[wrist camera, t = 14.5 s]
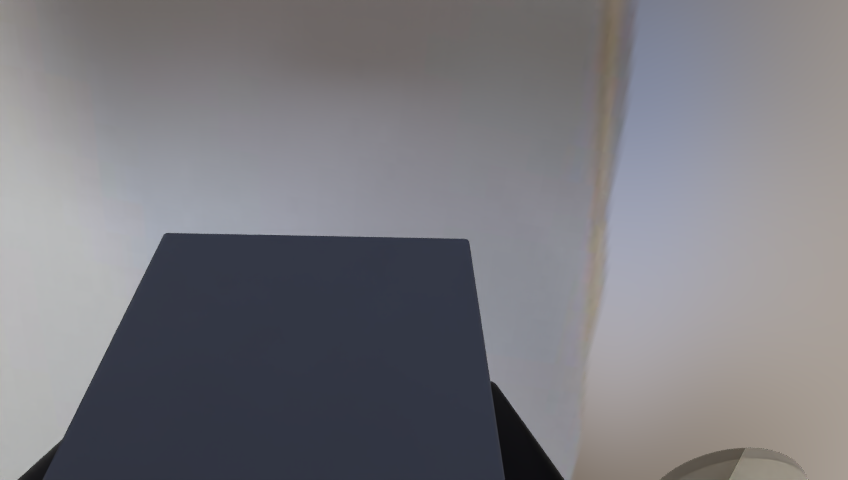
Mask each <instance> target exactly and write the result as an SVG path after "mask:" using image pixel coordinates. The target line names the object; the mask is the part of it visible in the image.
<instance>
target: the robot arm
mask: <svg viewBox="0 0 848 480" xmlns="http://www.w3.org/2000/svg"><path fill="white" fill-rule="evenodd" d="M490 383H491V390H492V397H493V403H494V410H495V416H496V423H497V430H498V436H499V443H500V449H501V456H502V463H503V469H504V476H505V480H564V478H563V477H562V476H561V474H560V473H559V471H558V470H557V469H556V467H555V466H554V464H553V463H552V462H551V460H550V459H549V457H548V456H547V455H546V453H545V452H544V450H543V449H542V448H541V446H540V445H539V443H538V442H537V441H536V439H535V438H534V436H533V435H532V434H531V432H530V431H529V429H528V428H527V427H526V425H525V424H524V422H523V421H522V420H521V418H520V417H519V415H518V414H517V413H516V411H515V410H514V408H513V407H512V406H511V404H510V403H509V401H508V400H507V399H506V397H505V396H504V394H503V393H502V392H501V390H500V389H499V387H498V386H497V385H496V384H495V383H494V382H492V381H490ZM61 441H62V440H61ZM61 441H60V442H59V443H58V444H57V445H56V446H55V447H53V448H52V449H51V450H50V451H49V452H48V453H47V454H46V455H45V456H43V457H42V458H41V459H40V460H39V461H38V462H37V463H36V464H35V465H33V466H32V467H31V468H30V469H29V470H28V471H27V472H26V473H25V474H24V475H22V476H21V477H20V478H19V479H18V480H43V478H44V476H45V474H46V472H47V470H48V468H49V466H50V464H51V462H52V460H53V458H54V456H55V454H56V452H57V450H58V448H59V446H60V444H61Z"/></svg>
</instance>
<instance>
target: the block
mask: <svg viewBox="0 0 848 480" xmlns="http://www.w3.org/2000/svg"><path fill="white" fill-rule="evenodd" d="M43 480H505V476H504V469H503V463H502V456H501V449H500V443H499V436H498V430H497V423H496V416H495V410H494V403H493V397H492V390H491V383H490V377H489V370H488V363H487V357H486V350H485V344H484V337H483V330H482V324H481V317H480V311H479V304H478V297H477V291H476V284H475V277H474V271H473V264H472V258H471V251H470V244H469V241H468V240H467V239H443V238H392V237H340V236H289V235H238V234H186V233H166V234H164V236H163V238H162V240H161V242H160V244H159V246H158V248H157V250H156V252H155V254H154V256H153V258H152V260H151V262H150V264H149V266H148V268H147V270H146V272H145V274H144V276H143V278H142V280H141V282H140V284H139V286H138V288H137V290H136V292H135V294H134V296H133V298H132V300H131V302H130V304H129V306H128V308H127V310H126V312H125V314H124V316H123V318H122V320H121V322H120V324H119V326H118V328H117V330H116V332H115V334H114V336H113V338H112V341H111V343H110V345H109V347H108V349H107V351H106V353H105V355H104V357H103V359H102V361H101V363H100V365H99V367H98V369H97V371H96V373H95V375H94V377H93V379H92V381H91V383H90V385H89V387H88V389H87V391H86V393H85V395H84V397H83V399H82V401H81V403H80V405H79V407H78V409H77V411H76V413H75V415H74V417H73V419H72V421H71V423H70V425H69V427H68V429H67V431H66V433H65V435H64V437H63V439H62V441H61V444H60V446H59V448H58V450H57V452H56V454H55V456H54V458H53V460H52V462H51V464H50V466H49V468H48V470H47V472H46V474H45V476H44V478H43Z"/></svg>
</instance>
